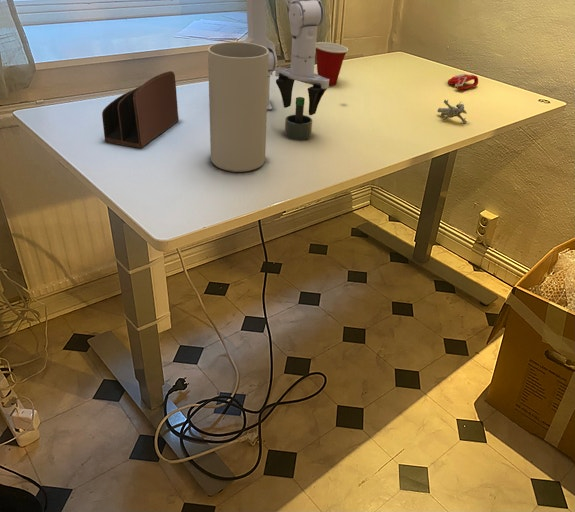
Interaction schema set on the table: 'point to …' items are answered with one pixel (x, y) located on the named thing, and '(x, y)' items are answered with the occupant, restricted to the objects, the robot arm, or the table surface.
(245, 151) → the cylinder vase
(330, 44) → the plastic cup
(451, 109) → the grey toy animal
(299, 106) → the marker
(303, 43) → the robot arm
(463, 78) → the keychain holder
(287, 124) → the tumbler
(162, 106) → the letter holder
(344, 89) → the table surface
